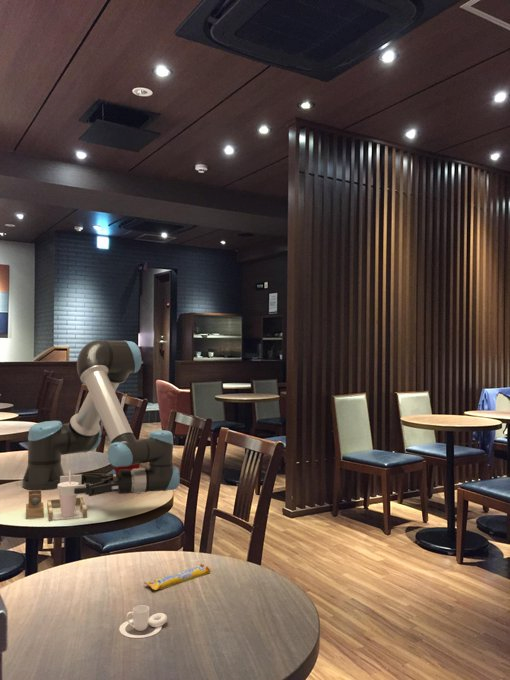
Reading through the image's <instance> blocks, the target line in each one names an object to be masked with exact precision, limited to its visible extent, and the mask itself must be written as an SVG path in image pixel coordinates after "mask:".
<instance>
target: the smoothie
mask: <svg viewBox="0 0 510 680" xmlns="http://www.w3.org/2000/svg"><path fill="white" fill-rule="evenodd" d="M68 472H69V473H68V476H69V482H62V483H59V484H58V487H57V488H56V489H58V497H59V498H58V499H60V507H59V508H60V513H61V515H62V517H71V516H74V512H76V511H75V510H76V506H75V505H76V498H78V495H69V496H62V486H73V485H80V484H79V483H78V482H71V475H72V469H69V470H68Z"/></svg>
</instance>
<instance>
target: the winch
mask: <svg viewBox="0 0 510 680" xmlns="http://www.w3.org/2000/svg"><path fill="white" fill-rule="evenodd" d="M44 508H45V507H44V502H42V490H29V491H28V503H25V519H26V520H27V519H39V518H44V510H45V509H44Z"/></svg>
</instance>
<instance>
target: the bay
mask: <svg viewBox="0 0 510 680" xmlns="http://www.w3.org/2000/svg"><path fill="white" fill-rule="evenodd" d="M75 507H79V508H80V512H81V513H82V516H83V518H84V519H87V518H88V507H87V505H86V503H85V500H84V497H81V496H80V497H76V505H75ZM54 508H61V507H60V498H58V499H56V498H55V499H47V507H46V509H47V514H48V515H47V516H48V521H49V522H53V521H54V519H53V514H54V512H53V509H54ZM83 518H82V519H83Z"/></svg>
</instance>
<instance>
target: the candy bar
mask: <svg viewBox="0 0 510 680" xmlns="http://www.w3.org/2000/svg"><path fill="white" fill-rule="evenodd" d="M204 567H205V568H204ZM211 570H212V568H210V567H209V566H208V565H207V566H205V565H204V564H202V563H200V564H199V565H198V566H196V567H193V568H189V569H186V570H183V571H181V572H177V573H174V574H170V575H165V576H163V577H159V578H156V579H154V580H153V579H152V580H150V581H149V582H146V581H144V582H143V584H145V585H147V586H149V587H150V588H151V589H152V590H154V591H157V590H163V589H167V588H169V587H172V586H176V585H178V584H182V583H184V582H186V581H190V580H194V579H197V578H199V577H202V576H205V575H208V574H210V573H211Z"/></svg>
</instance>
